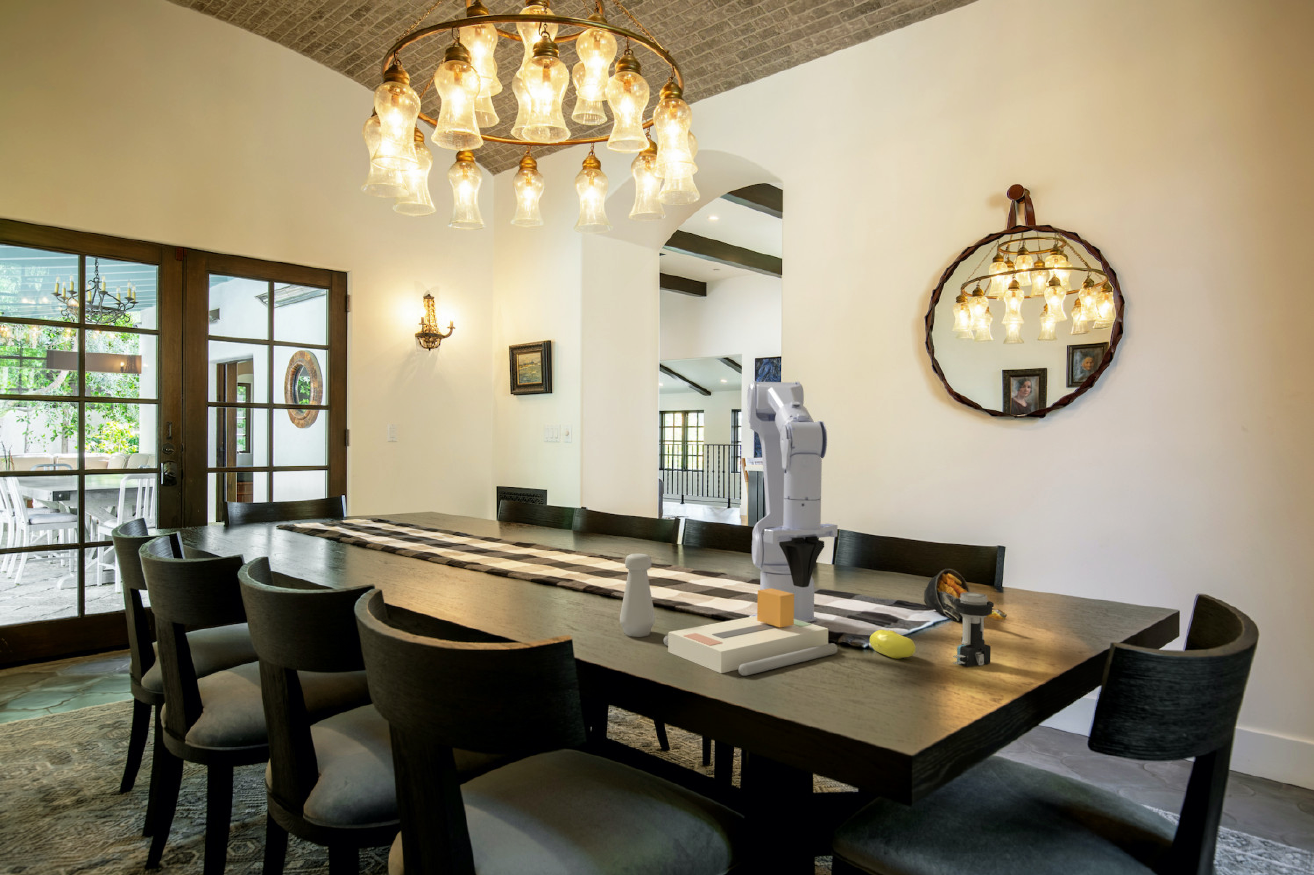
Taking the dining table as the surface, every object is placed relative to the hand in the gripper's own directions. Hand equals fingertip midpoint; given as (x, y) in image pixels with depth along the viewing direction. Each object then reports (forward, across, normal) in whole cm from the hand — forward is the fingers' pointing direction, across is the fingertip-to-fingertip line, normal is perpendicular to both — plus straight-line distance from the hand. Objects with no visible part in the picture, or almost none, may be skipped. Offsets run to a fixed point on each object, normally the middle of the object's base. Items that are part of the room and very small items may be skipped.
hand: (801, 586), depth 116 cm
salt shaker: (+10, -17, +20) cm, 28 cm away
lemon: (+10, +8, -11) cm, 17 cm away
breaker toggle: (+6, -3, +3) cm, 7 cm away
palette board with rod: (+9, -8, +3) cm, 13 cm away
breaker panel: (+9, -8, +3) cm, 13 cm away
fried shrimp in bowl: (+10, +37, -5) cm, 39 cm away
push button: (+10, +14, -20) cm, 26 cm away
